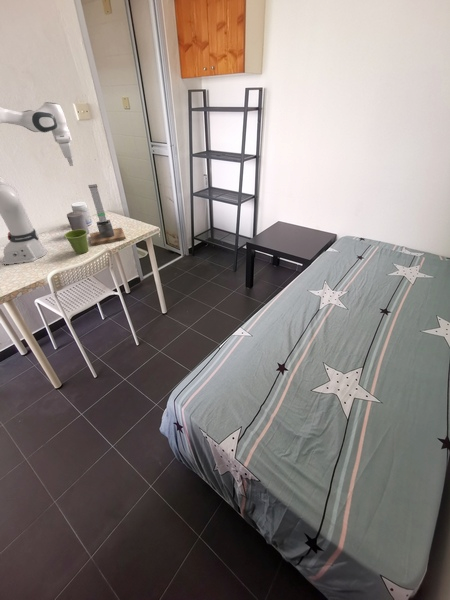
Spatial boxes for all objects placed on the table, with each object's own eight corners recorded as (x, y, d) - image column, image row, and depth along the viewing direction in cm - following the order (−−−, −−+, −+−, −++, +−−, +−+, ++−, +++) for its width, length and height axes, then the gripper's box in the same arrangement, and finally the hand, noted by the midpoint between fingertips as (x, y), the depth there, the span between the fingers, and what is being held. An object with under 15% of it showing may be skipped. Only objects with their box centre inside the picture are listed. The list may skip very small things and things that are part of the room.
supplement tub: (75, 225, 200) (68, 204, 191) (87, 221, 206) (81, 200, 197) (82, 228, 195) (75, 207, 186) (95, 224, 201) (88, 203, 192)
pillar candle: (73, 233, 188) (64, 211, 179) (88, 229, 192) (81, 208, 183) (74, 238, 182) (66, 215, 172) (90, 234, 185) (83, 212, 176)
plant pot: (69, 257, 160) (61, 238, 154) (73, 248, 170) (67, 230, 163) (91, 254, 162) (84, 236, 155) (94, 246, 171) (88, 228, 165)
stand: (92, 246, 171) (86, 229, 165) (90, 236, 183) (85, 220, 177) (126, 239, 178) (121, 223, 172) (122, 230, 190) (118, 215, 183)
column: (99, 222, 171) (88, 187, 159) (98, 220, 175) (88, 185, 162) (107, 221, 173) (97, 185, 160) (106, 218, 176) (96, 184, 164)
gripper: (56, 136, 165) (65, 161, 173) (56, 139, 150) (65, 168, 158) (68, 135, 167) (76, 160, 175) (69, 138, 152) (77, 166, 160)
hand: (71, 164), depth 167 cm, fingers open, 8 cm apart
